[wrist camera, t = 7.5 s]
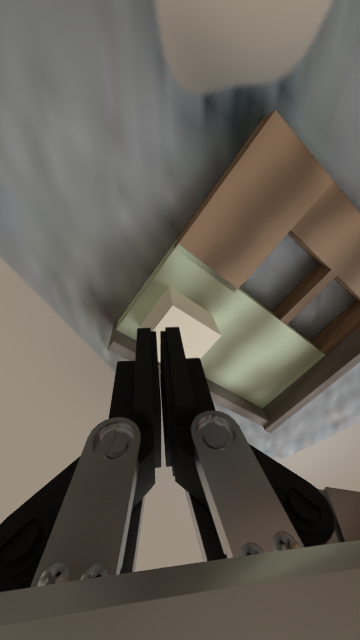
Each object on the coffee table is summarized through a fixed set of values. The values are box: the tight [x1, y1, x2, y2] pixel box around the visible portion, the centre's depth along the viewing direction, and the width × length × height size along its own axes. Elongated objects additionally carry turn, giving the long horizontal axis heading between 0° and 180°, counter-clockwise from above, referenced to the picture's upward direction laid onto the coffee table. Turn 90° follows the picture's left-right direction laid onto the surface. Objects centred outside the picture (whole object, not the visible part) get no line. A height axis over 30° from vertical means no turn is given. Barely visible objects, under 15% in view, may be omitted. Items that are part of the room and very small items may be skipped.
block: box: [139, 286, 221, 362], centre depth 22 cm, size 5×5×4 cm
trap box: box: [108, 110, 360, 433], centre depth 24 cm, size 22×22×4 cm
